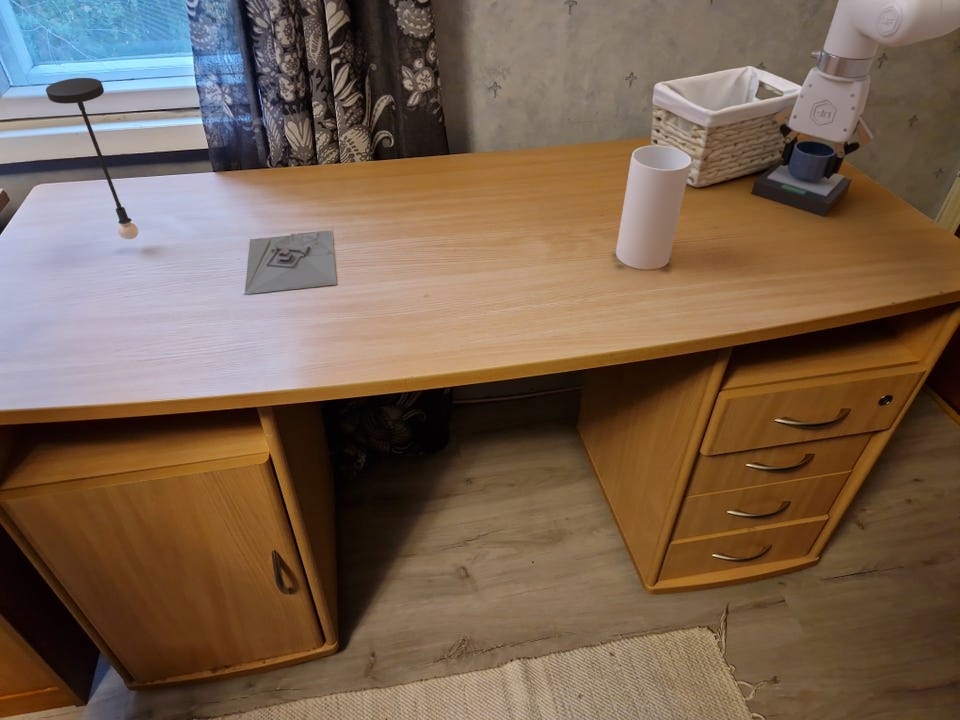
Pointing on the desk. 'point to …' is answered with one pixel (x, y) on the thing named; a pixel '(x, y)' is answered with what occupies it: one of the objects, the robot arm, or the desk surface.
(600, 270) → the desk surface
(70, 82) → the light fixture
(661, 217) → the cup
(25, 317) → the desk surface
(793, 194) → the scale
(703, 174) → the basket
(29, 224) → the desk surface
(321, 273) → the grey faceted rectangular plate
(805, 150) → the bowl
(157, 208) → the desk surface
